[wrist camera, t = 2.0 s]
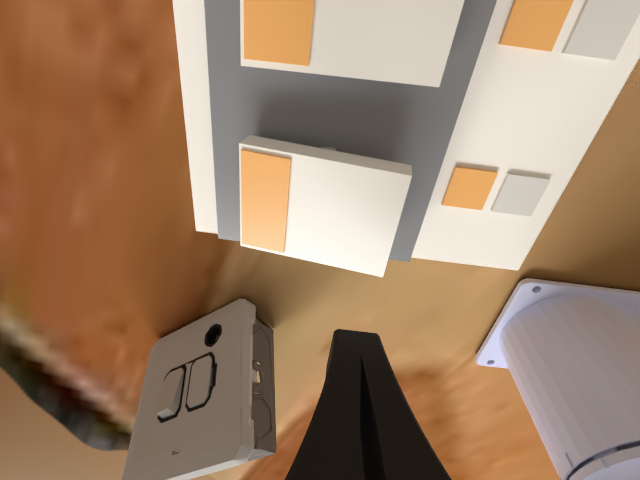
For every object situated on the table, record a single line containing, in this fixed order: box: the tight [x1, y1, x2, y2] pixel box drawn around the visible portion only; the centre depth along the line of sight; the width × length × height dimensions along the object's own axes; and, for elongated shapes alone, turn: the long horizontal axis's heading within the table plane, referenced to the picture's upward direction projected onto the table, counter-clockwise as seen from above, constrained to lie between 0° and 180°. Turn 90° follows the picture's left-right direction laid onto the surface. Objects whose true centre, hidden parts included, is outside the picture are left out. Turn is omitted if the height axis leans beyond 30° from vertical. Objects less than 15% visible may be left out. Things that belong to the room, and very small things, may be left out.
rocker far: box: [239, 135, 412, 277], centre depth 13 cm, size 6×4×1 cm
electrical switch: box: [122, 299, 276, 480], centre depth 22 cm, size 9×5×9 cm, turn 124°
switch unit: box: [173, 0, 640, 270], centre depth 14 cm, size 18×16×4 cm
